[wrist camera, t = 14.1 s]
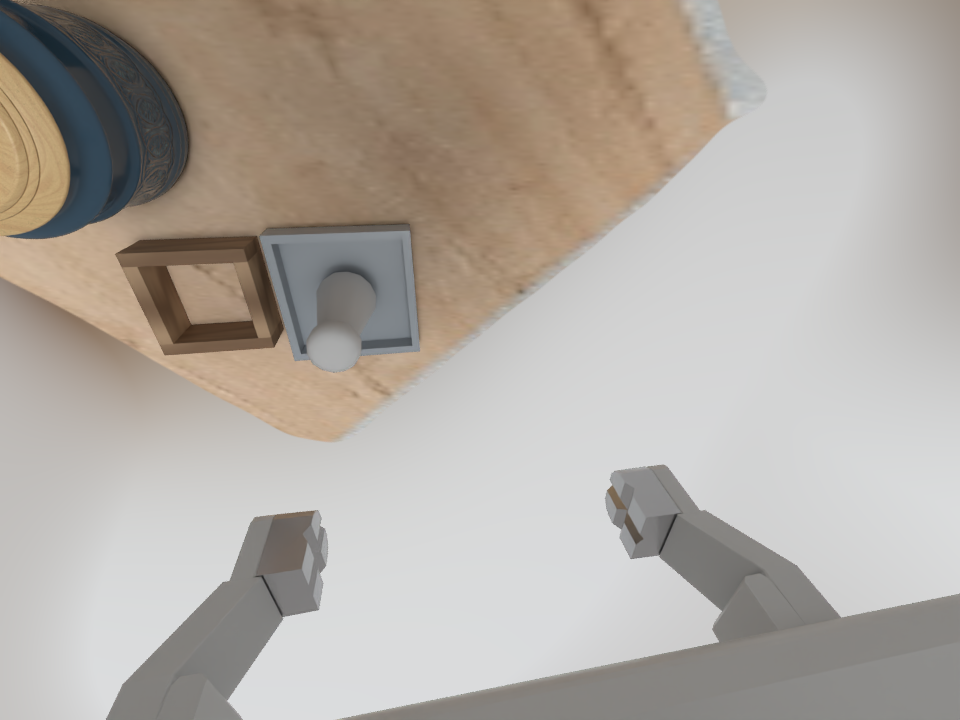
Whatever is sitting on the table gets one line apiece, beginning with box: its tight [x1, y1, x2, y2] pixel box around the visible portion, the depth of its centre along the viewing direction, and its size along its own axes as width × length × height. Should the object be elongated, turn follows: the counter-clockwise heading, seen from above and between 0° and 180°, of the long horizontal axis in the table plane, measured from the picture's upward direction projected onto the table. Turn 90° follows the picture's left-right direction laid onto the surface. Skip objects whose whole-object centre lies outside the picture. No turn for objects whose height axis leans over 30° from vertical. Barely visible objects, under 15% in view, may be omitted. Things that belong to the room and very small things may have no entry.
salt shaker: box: [306, 272, 376, 373], centre depth 37 cm, size 6×6×13 cm
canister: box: [0, 0, 188, 239], centre depth 25 cm, size 13×13×18 cm
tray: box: [259, 224, 420, 361], centre depth 42 cm, size 14×14×2 cm
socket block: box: [115, 236, 283, 355], centre depth 39 cm, size 10×10×4 cm
